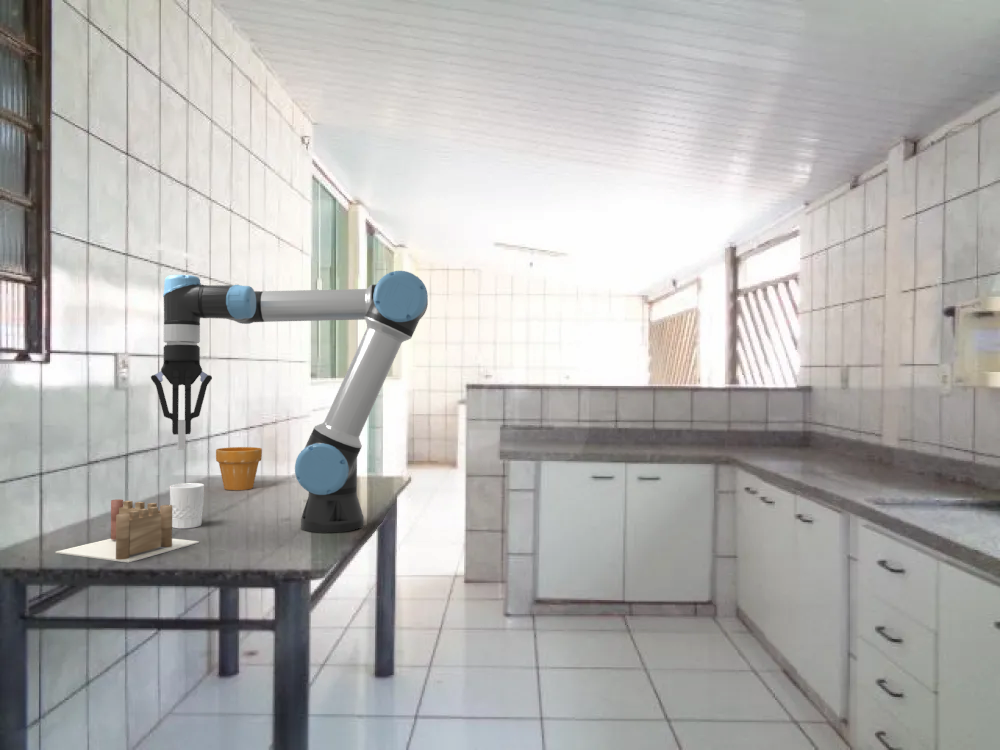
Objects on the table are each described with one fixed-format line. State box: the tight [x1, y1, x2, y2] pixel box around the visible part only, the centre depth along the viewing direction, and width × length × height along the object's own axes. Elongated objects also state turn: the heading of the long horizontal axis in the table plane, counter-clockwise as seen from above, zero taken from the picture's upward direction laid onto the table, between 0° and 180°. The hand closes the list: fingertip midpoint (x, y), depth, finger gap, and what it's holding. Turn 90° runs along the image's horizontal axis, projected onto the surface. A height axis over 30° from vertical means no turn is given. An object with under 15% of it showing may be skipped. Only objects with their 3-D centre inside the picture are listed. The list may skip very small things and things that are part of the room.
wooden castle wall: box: [116, 504, 173, 560], centre depth 154 cm, size 2×14×9 cm, turn 159°
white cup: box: [169, 482, 205, 529], centre depth 182 cm, size 8×8×10 cm
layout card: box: [54, 537, 200, 563], centre depth 159 cm, size 20×19×1 cm
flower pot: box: [215, 446, 263, 491], centre depth 243 cm, size 14×14×13 cm
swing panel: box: [110, 498, 160, 540], centre depth 163 cm, size 2×13×8 cm, turn 69°
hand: (181, 448), depth 167 cm, fingers closed
